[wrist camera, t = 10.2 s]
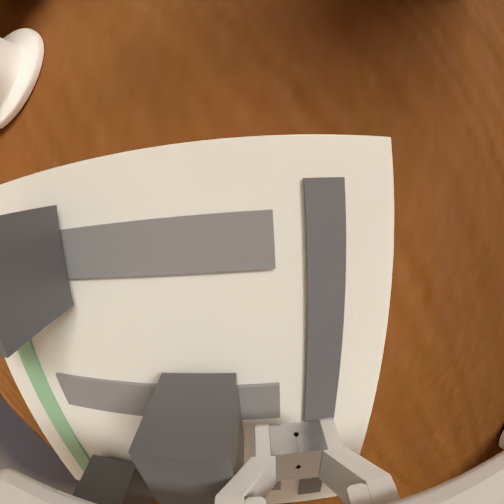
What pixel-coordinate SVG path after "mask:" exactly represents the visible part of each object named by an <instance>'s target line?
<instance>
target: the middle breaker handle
mask: <svg viewBox="0 0 504 504" xmlns="http://www.w3.org/2000/svg"><path fill="white" fill-rule="evenodd" d="M128 453H129V455H130V457H131V459H132V461H133V462H134V464H135V466H136V468H137V469H138V471H139V473H140V474H141V476H142V478H143V479H144V481H145V483H146V484H147V486H148V487H149V489H150V491H151V492H152V494H153V495H154V497H155V498H156V500H157V501H158V503H159V504H215V496H216V495H217V494H218V493H219V492H220V491H221V490H222V488H223V487H224V486H225V485H226V484H227V483H228V482H229V481H230V480H231V479H232V478H233V477H234V476H235V474H236V473H237V472H238V471H239V470H240V469H241V468H242V467H243V465H244V430H243V423H242V415H241V407H240V399H239V391H238V383H237V374H236V373H162V374H161V376H160V378H159V381H158V383H157V385H156V387H155V390H154V392H153V394H152V397H151V399H150V401H149V404H148V406H147V408H146V411H145V413H144V415H143V418H142V420H141V422H140V425H139V427H138V429H137V432H136V434H135V437H134V439H133V441H132V444H131V446H130V449H129V451H128Z"/></svg>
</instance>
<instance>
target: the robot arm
mask: <svg viewBox="0 0 504 504" xmlns="http://www.w3.org/2000/svg"><path fill="white" fill-rule="evenodd" d="M254 429H255V457H250V459H249V460H248V461H247V462H246V463H245V464H244V465H243V467H242V468H241V469H240V470H239V471H238V472H237V473H236V474H235V476H234V477H233V478H232V479H231V480H230V481H229V482H228V483H227V484H226V485H225V486H224V487H223V488H222V490H221V491H220V492H219V493H218V494H217V495H216V496H215V504H266V497H267V496H268V494H269V493H270V491H271V490H272V488H273V487H274V485H275V484H276V482H277V481H287V480H295V479H305V478H314V477H319V479H320V480H321V481H322V482H323V483H324V484H326V485H327V486H328V487H329V488H330V489H331V490H332V491H333V492H334V493H335V494H336V495H338V496H339V497H340V498H341V499H342V500H343V501H342V503H341V504H504V450H503V451H502V452H500V453H498V454H497V455H495V456H493V457H492V458H490V459H488V460H487V461H485V462H483V463H481V464H480V465H478V466H476V467H474V468H472V469H470V470H468V471H466V472H464V473H462V474H460V475H458V476H456V477H454V478H452V479H450V480H448V481H446V482H443V483H441V484H439V485H436V486H434V487H432V488H429V489H427V490H424V491H422V492H419V493H416V494H414V495H411V496H408V497H405V498H402V499H400V496H399V494H398V491H397V489H396V486H395V484H394V482H393V479H392V477H391V475H390V474H389V473H387V472H385V471H384V470H382V469H380V468H379V467H377V466H376V465H374V464H372V463H371V462H369V461H368V460H366V459H365V458H363V457H361V456H360V455H358V454H357V453H355V452H354V451H352V450H351V449H349V448H348V447H342V444H341V441H340V438H339V435H338V432H337V429H336V426H335V423H334V419H333V418H332V417H330V418H323V419H319V420H318V419H316V420H309V421H300V422H292V423H279V424H269V425H268V424H261V425H255V428H254ZM499 446H500V447H501V448H502V449H504V430H503V432H502V434H501V437H500V440H499ZM0 504H97V503H93V502H90V501H87V500H84V499H81V498H78V497H75V496H73V495H70V494H67V493H64V492H62V491H59V490H57V489H55V488H52V487H50V486H47V485H45V484H43V483H41V482H38V481H36V480H34V479H32V478H30V477H28V476H26V475H24V474H22V473H20V472H18V471H16V470H13V469H11V468H3V469H0Z"/></svg>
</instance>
